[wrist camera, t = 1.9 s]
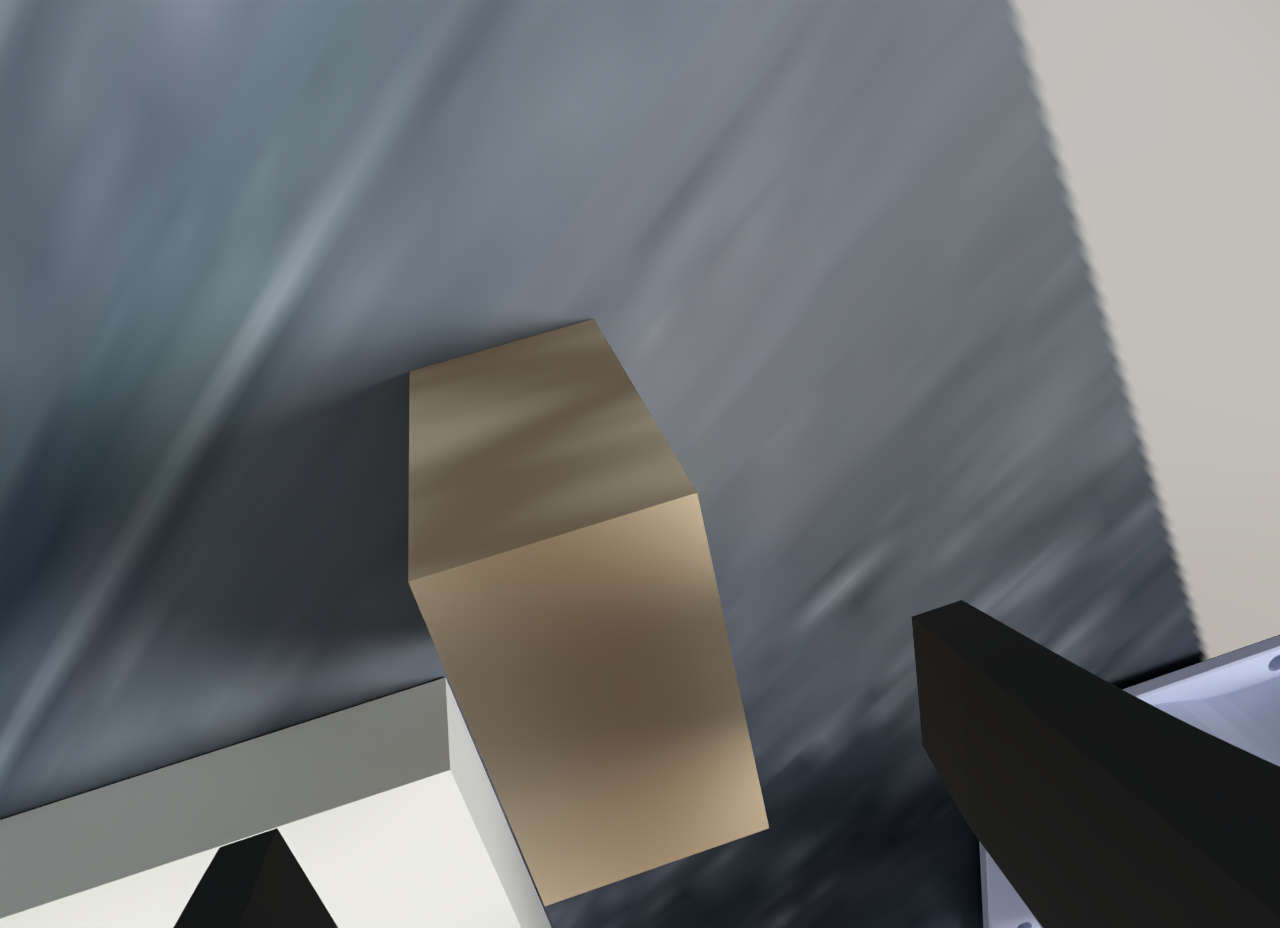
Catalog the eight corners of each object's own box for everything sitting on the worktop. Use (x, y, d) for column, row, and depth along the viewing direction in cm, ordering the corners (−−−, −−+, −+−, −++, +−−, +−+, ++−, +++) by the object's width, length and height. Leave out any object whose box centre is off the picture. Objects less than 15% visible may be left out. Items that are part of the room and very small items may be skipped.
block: (593, 318, 15) (697, 492, 10) (658, 575, 18) (768, 828, 12) (409, 370, 15) (408, 582, 10) (502, 624, 18) (545, 906, 12)
